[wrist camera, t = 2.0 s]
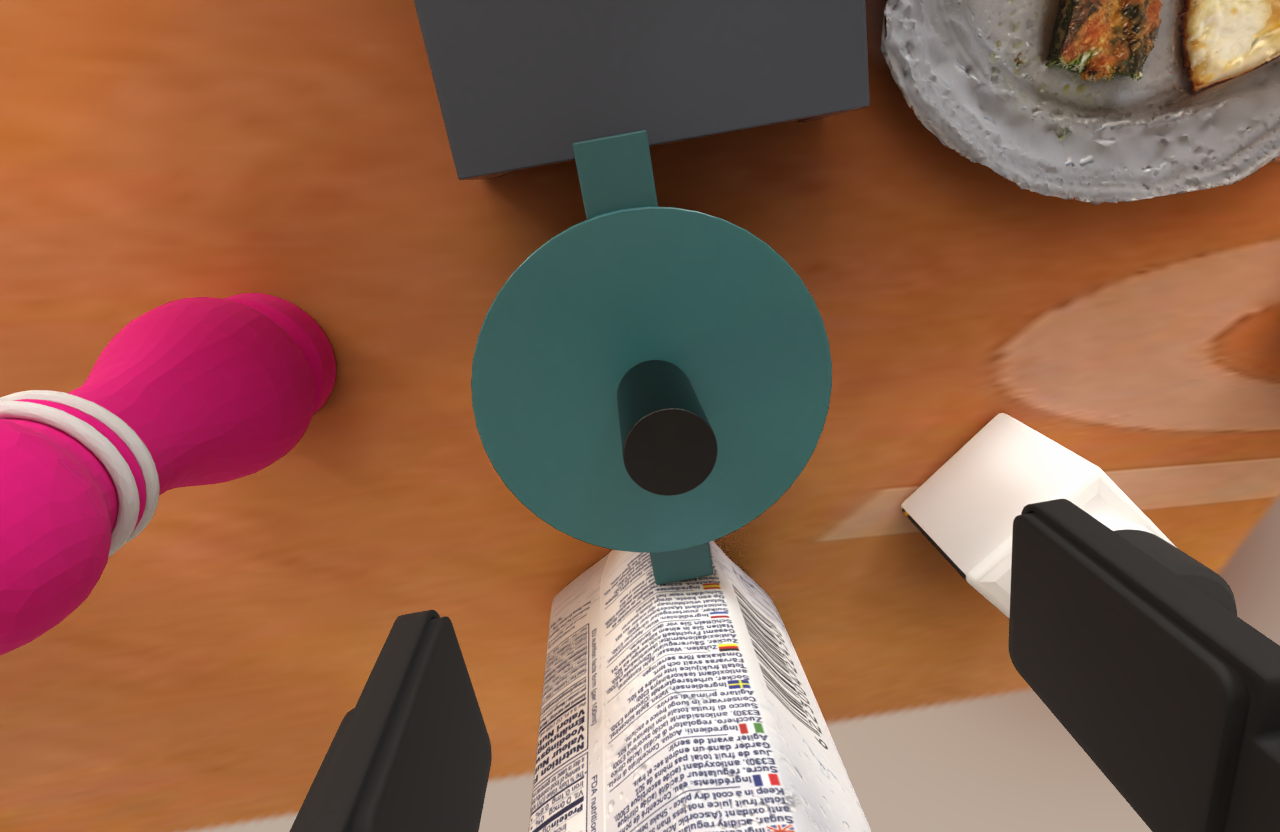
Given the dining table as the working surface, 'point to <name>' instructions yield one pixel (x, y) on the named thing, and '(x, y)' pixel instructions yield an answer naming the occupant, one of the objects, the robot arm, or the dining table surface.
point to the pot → (611, 183)
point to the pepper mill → (145, 439)
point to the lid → (651, 379)
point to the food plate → (1095, 89)
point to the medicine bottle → (1011, 479)
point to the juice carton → (680, 711)
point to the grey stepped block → (633, 71)
